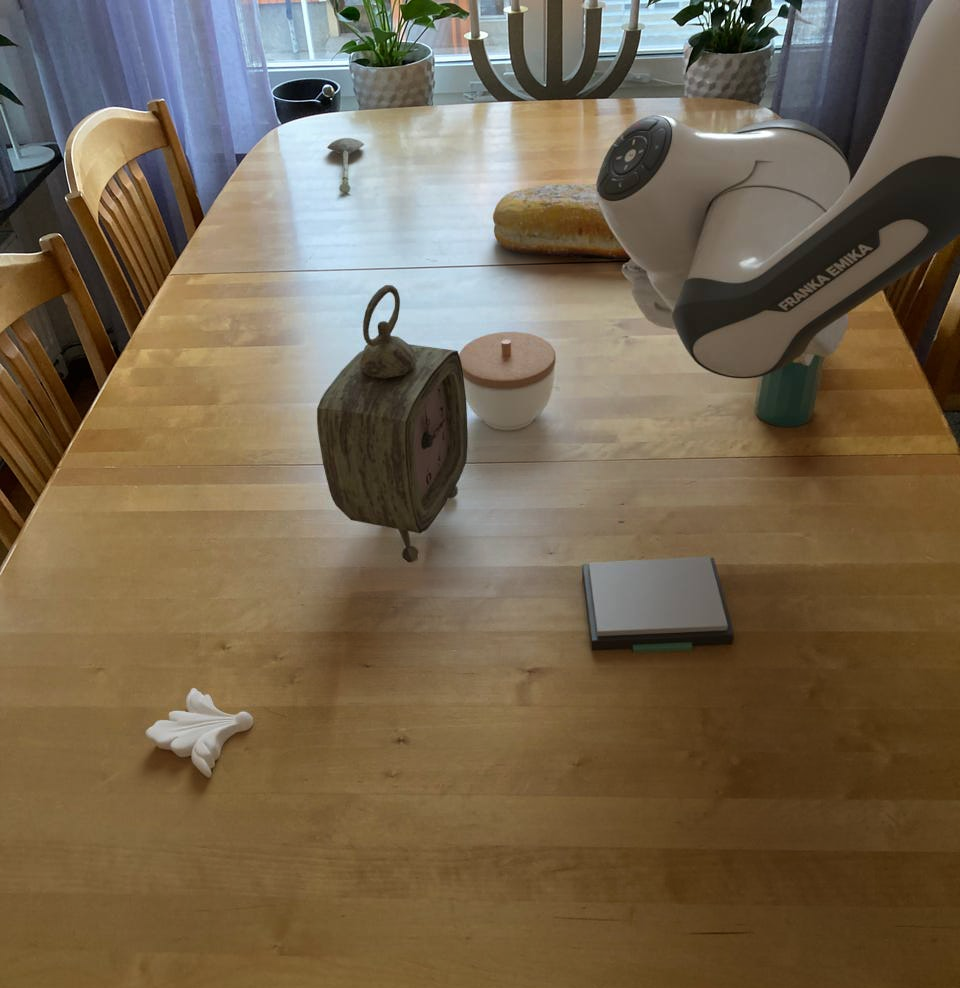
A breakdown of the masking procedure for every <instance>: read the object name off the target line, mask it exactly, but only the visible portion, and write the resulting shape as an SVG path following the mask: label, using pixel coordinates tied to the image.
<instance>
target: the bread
mask: <svg viewBox="0 0 960 988" xmlns="http://www.w3.org/2000/svg"><path fill="white" fill-rule="evenodd" d="M492 221H493V224H494V226H493V227H494V228H493V235H494V237H495V239H496V241H497V242H498V244H499V245H500V246H501V247H502V248H505V249H507V250H509V251H512V252H516V253H521V254H529V255H530V254H531V255H541V254H542V255H554V256H563V257H564V256H566V257H574V258H581V259H589V260H608V261H609V260H610V261H611V260H614V261H629V260H631V257H630V256H629V255H628V254H627V252H626V251H625V250H624V248H623V247H622V246H621V244H620V243H619V241H618V240H617V238H616V237H615V235H614V234H613V232H612V231H611V229H610V227H609V226H608V224H607V222H606V220H605V218H604V216H603V214H602V212H601V209H600V206H599V203H598V199H597V193H596V183H569V184H567V183H566V184H565V183H564V184H561V183H558V184H550V183H546V184H545V185H544V184H543V185H537V186H535V187H527V188H522V189H518V190H513V191H511V192H509V193H507V194H505V195H504V196H503V197H502V198H500V200H499V201H498V203H497V204H496V206H495V208H494V211H493V215H492Z"/></svg>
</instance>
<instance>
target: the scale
mask: <svg viewBox="0 0 960 988" xmlns="http://www.w3.org/2000/svg"><path fill="white" fill-rule="evenodd" d="M581 570H582V572H581V574H582V575H581V582H582V584H583V591H584V601H585V609H586V616H587V617H586V618H587V625H588V632H589V633H588V634H589V641H590V649H591V651H615V650H616V651H617V650H618V651H619V650H632V653H633V654H643V653H666V652H686V651H687V652H690V651H693V647H703V646H705V647H706V646H726V645H729V646H730V645H733V643H734V637H735V634H734V629H733V625H732V623H731V619H730V618H731V617H730V614H729V611H728V607H727V603H726V600H725V595H724V592H723V588H722V585H721V579H720V577H719V572H718V570H717V565H716V562H715V559H714V557H710V556H697V557H696V556H695V557H677V558H674V557H673V558H655V559H654V558H653V559H634V560H633V559H632V560H612V561H595V562H594V561H591V562H588V563H582V566H581Z"/></svg>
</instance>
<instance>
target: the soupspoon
mask: <svg viewBox="0 0 960 988" xmlns="http://www.w3.org/2000/svg"><path fill="white" fill-rule="evenodd" d="M363 146H365V143H364V142H362V141H361V140H359V139H356V138H351V137H344V138H343V137H342V138H339V139H336V140H334V141H332V142H331V143H329V144H328V146H327V147H326V149H329V150H330V151H334V152H336V153H338V154H341V155H342V165H343V166H342V167H343V177H342V181H341V184H340V185H339V191H340V192H341V193H344V194H348V193H349V192H350V191H351V185H350V184H349V178H348V176H349V155H350V154H352V153H354V152H356V151H358V150H359V149H360V148H362V147H363Z"/></svg>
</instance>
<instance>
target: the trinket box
mask: <svg viewBox="0 0 960 988" xmlns="http://www.w3.org/2000/svg"><path fill="white" fill-rule="evenodd" d="M458 354H459V357H460V360H461V365H462V370H463V377H464V385H465V394H466V404H467V405H468V406H469V408H470V409H471V411H472V412H473V413H474V414H475V415H476V416H477V417H478V418H479V419H480V420H481V421H483V422H484V423H485V424H486V425H487V426H488V427H490V428H492V429H494V430H499V431H506V432H507V431H517V430H522V429H524V428H526V427H528V426H529V425H531V424H532V423H533V422H534V421H535V419H536V418H537V417H539V416H540V415H541V413H542V412H543V411H544V410H545V409H546V407H547V406H548V403H549V401H550V399H551V396H552V393H553V388H554V383H555V366H556V362H557V361H556V351H555V349H554V347H553V346H552V344H550V343H549V342H548V341H547V340H546V339H544V338H543V337H540V336H538V335H535V334H532V333H527V332H521V331H500V332H494V333H489V334H486V335H483V336H480V337H477V338H475V339H473V340H472V341H470V342H468V343H467V344H466V345H464V347H463V348H462V349H461V350H460V352H459V353H458Z"/></svg>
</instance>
